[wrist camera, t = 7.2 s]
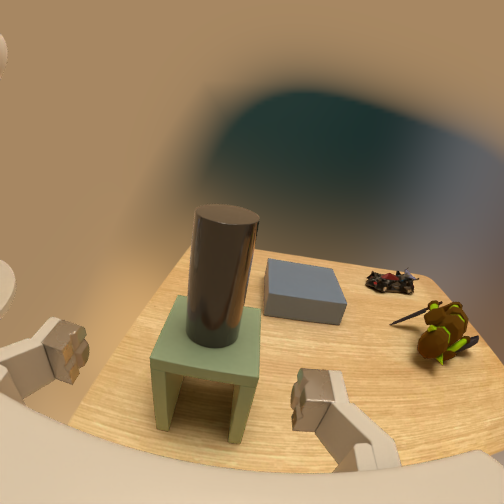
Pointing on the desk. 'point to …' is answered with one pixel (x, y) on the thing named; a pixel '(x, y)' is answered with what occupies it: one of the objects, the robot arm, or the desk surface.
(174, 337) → the sage green stool
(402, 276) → the toy car
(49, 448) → the robot arm
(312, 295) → the low gray rectangular block
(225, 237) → the glossy brown cylinder
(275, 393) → the desk surface
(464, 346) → the goblin
